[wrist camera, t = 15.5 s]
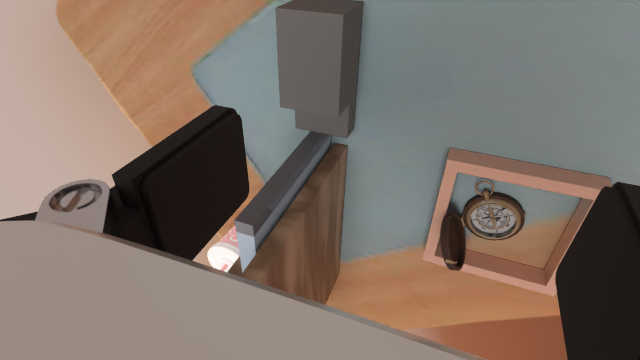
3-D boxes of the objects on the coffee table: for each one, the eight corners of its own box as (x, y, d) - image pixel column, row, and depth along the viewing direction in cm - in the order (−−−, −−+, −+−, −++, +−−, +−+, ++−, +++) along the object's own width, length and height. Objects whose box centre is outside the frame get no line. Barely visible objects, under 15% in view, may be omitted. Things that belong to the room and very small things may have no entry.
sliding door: (331, 125, 43) (252, 225, 29) (327, 229, 52) (266, 343, 38) (317, 122, 43) (234, 220, 29) (316, 226, 52) (252, 338, 39)
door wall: (347, 145, 44) (246, 303, 26) (339, 273, 57) (267, 437, 39) (303, 136, 45) (178, 279, 28) (304, 262, 58) (220, 415, 40)
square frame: (608, 177, 35) (615, 192, 33) (551, 279, 44) (554, 296, 42) (449, 147, 39) (447, 159, 37) (425, 246, 48) (422, 260, 46)
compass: (530, 232, 42) (535, 281, 36) (455, 238, 46) (450, 283, 40) (516, 171, 38) (519, 215, 33) (437, 183, 42) (429, 224, 37)
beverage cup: (286, 228, 55) (235, 303, 45) (263, 242, 59) (211, 315, 48) (256, 198, 54) (197, 268, 44) (234, 215, 58) (175, 283, 47)
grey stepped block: (363, 1, 35) (343, 14, 30) (353, 128, 42) (336, 154, 38) (303, -4, 36) (275, 7, 32) (304, 118, 44) (282, 142, 39)
